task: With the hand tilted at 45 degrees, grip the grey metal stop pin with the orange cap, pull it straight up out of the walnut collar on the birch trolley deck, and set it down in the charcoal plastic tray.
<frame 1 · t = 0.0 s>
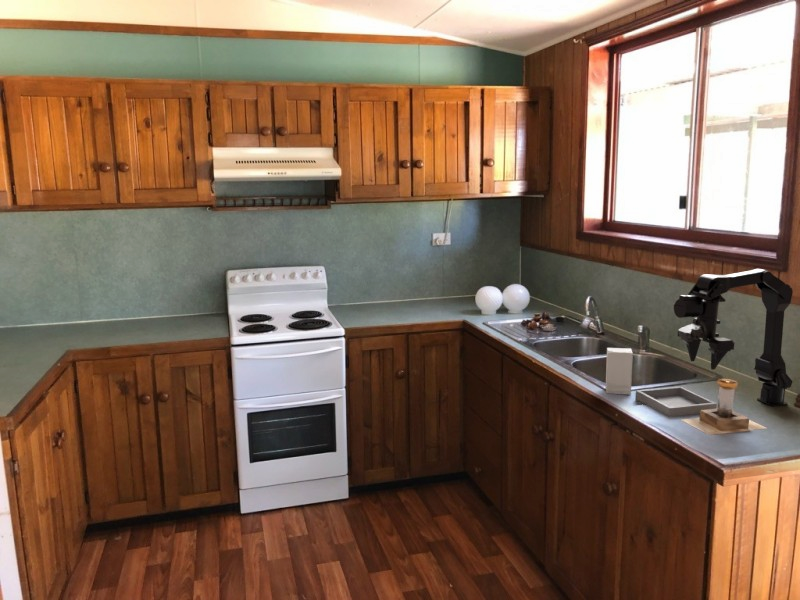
hand: (702, 365, 208), 15 cm above the worktop, tool pointing down, fingers open, 9 cm apart
tray: (674, 407, 213), on the worktop
skincare box: (617, 392, 228), on the worktop
stop pin: (723, 423, 197), point 1 cm above the worktop, touching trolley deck
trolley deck: (723, 427, 197), on the worktop
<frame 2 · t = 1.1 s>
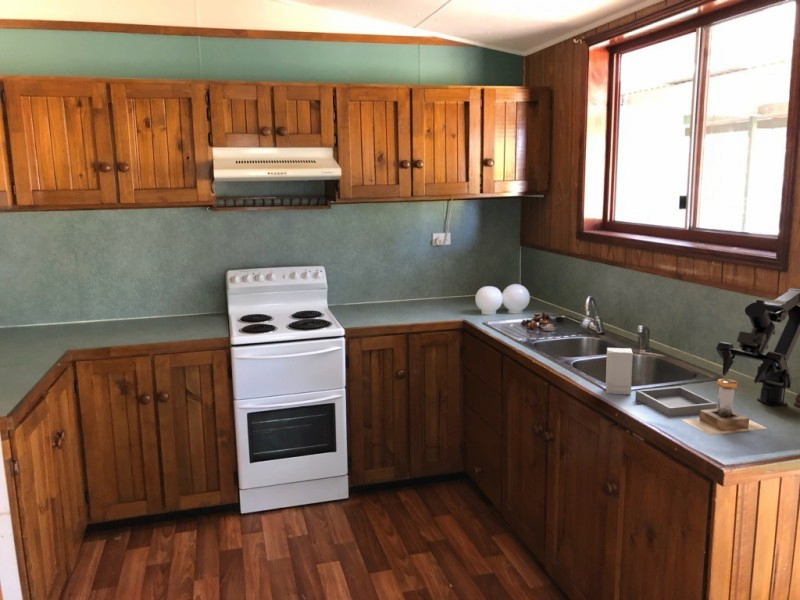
hand: (738, 378, 199), 13 cm above the worktop, tool tilted 45°, fingers open, 9 cm apart
nothing on the worktop moved.
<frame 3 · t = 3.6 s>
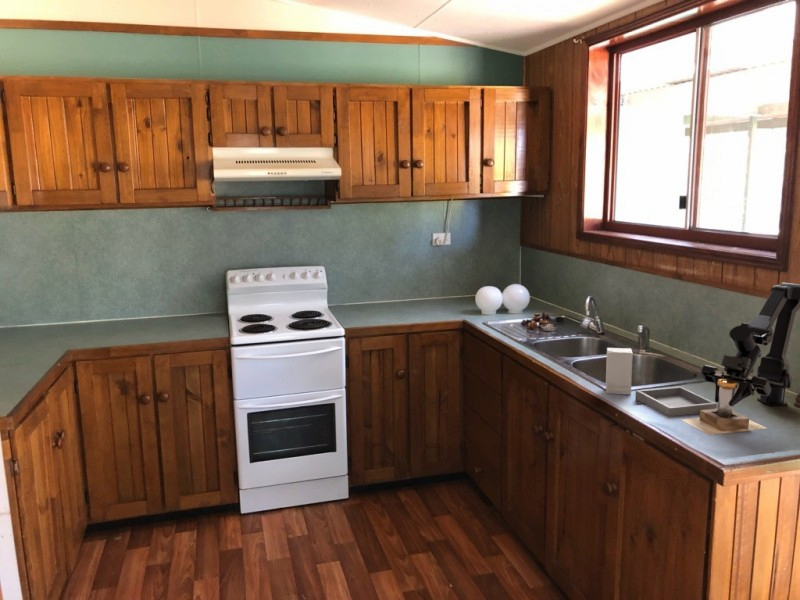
hand: (723, 403, 195), 8 cm above the worktop, tool tilted 45°, fingers closed on stop pin, 4 cm apart
stop pin: (723, 423, 197), point 1 cm above the worktop, touching gripper, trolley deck
everything else where it was.
when the fingers open (9 cm above the worktop, at t = 7.7 s): stop pin drops 1 cm, resting on tray.
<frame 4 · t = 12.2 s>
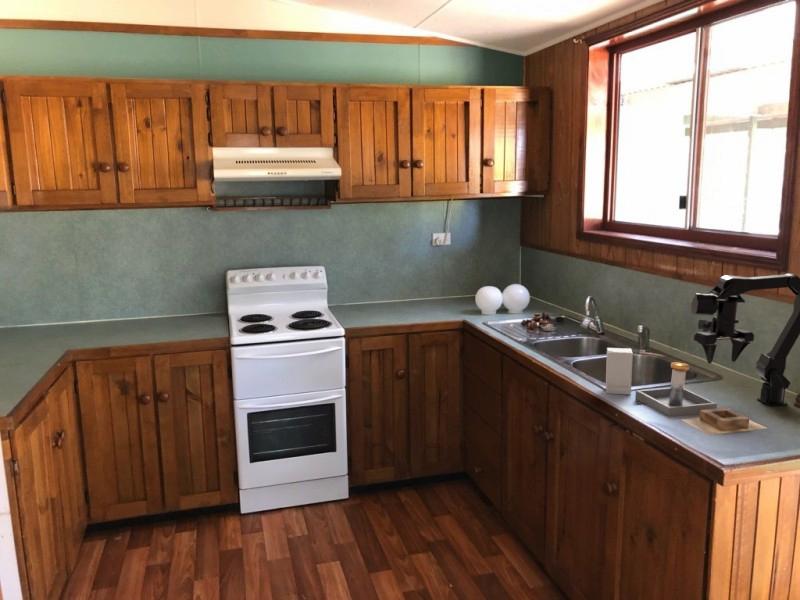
hand: (721, 362, 218), 13 cm above the worktop, tool pointing down, fingers open, 9 cm apart
stop pin: (675, 404, 213), point 1 cm above the worktop, touching tray
everything else where it was.
at the end: stop pin inside the target area on the tray (0.2 cm from its centre), point 1.1 cm above the tray's base; the gripper is holding nothing; stop pin moved 18.2 cm from its start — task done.
